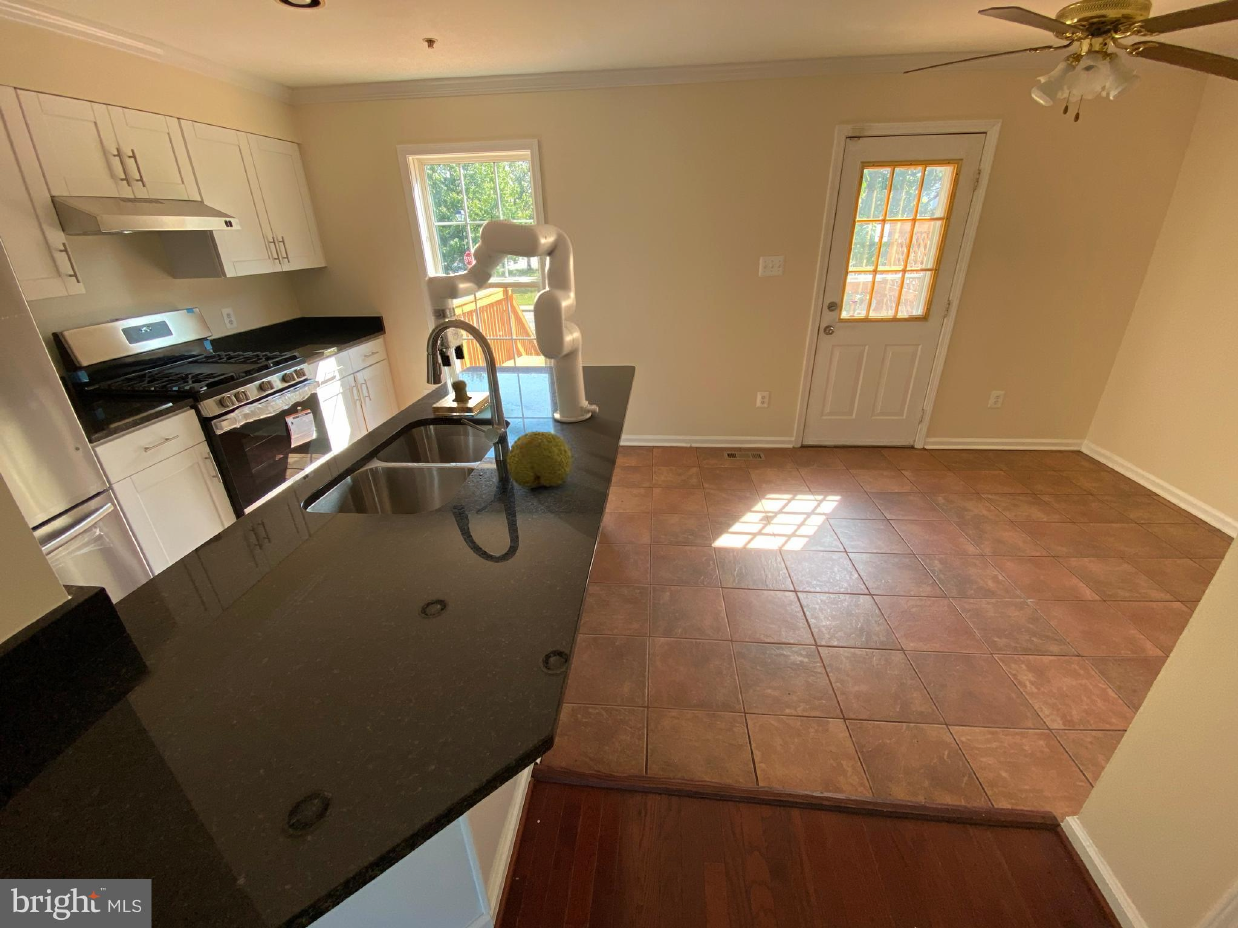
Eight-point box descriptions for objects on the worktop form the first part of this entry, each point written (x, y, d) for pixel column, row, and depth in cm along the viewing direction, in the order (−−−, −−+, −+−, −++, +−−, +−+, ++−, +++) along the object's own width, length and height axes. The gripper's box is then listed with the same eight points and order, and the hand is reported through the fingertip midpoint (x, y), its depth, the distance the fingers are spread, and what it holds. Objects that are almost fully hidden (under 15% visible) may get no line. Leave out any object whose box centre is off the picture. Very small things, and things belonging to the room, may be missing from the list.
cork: (462, 413, 182) (456, 384, 177) (452, 410, 185) (446, 382, 180) (475, 408, 186) (470, 379, 181) (465, 405, 189) (459, 377, 184)
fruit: (520, 506, 118) (490, 449, 116) (526, 497, 132) (500, 446, 131) (581, 475, 119) (553, 418, 117) (581, 470, 133) (555, 419, 131)
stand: (493, 402, 191) (491, 392, 189) (474, 417, 177) (472, 406, 175) (455, 402, 194) (453, 392, 192) (433, 416, 180) (431, 406, 178)
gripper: (440, 318, 162) (451, 369, 169) (465, 309, 177) (474, 356, 185) (420, 318, 163) (431, 369, 171) (446, 309, 179) (456, 356, 186)
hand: (453, 362), depth 178 cm, fingers open, 9 cm apart
